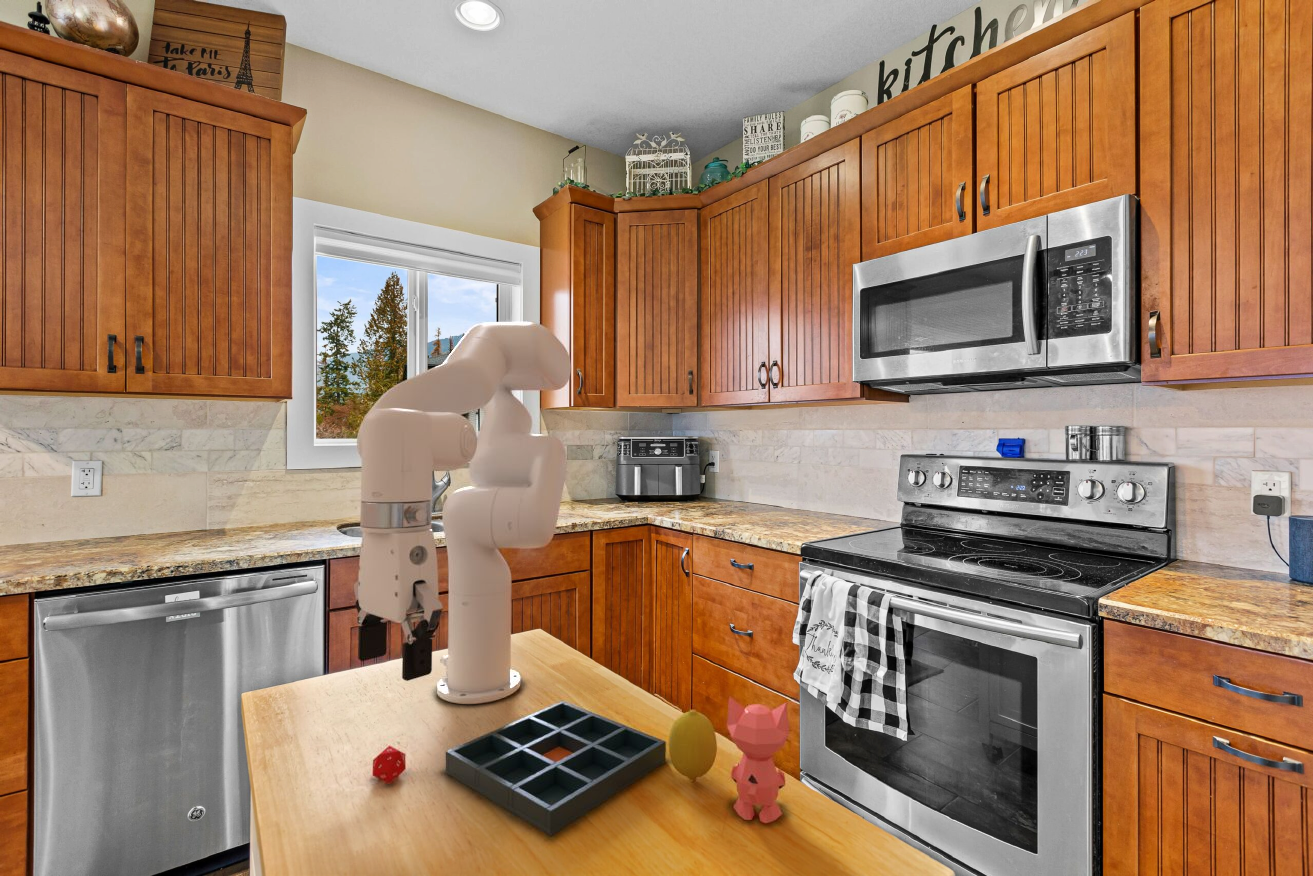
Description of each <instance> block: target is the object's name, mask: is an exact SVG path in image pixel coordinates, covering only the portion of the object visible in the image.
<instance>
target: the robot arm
mask: <svg viewBox="0 0 1313 876" xmlns="http://www.w3.org/2000/svg"><path fill="white" fill-rule="evenodd" d="M571 370H572V364H571V358H570V355H569V352H568V351H567V348H566V347H565V345H564V344H563V343H562V342H561V341H560V339H559V338H558V337H557V335H555V334H554V333H553V332H552V331H551V330H550V329H549V328H547V327H546V326H544V325H542V324H540V323H538V322H534V321H489V322H487V321H486V322H482V323H478V324H475V325H474V326H472V327H470V328H469V329H468V330H467V331H466V333H465V334H464V335H463V337H462V338H461V339H460V340H459V342H458V343H457V344H456V346H455V347H454V348H453V350H452V351H451V353H450V354H449V355H448V356H447V358H446V359H445V360H444V362H443V363H442V364H440V365H437V366H435V367H432V368H430V369H427V370H424V371H422V372H420V373H419V374H416V375H415V376H412V377H410V378H407V379H405V380H403V381H401V382H399V383H397V384H395V385H394V386H392V387H391V388H389V389H388V390H386V391H385V392H384V393H383V394H382V395H381V396H380V397H379V398H378V399H377V400H376V402H375V403H374V404H373V405H372V406H371V408H370V409H369V410H368V411H367V413H365V415H364V417H363V419H362V421H361V424H360V426H359V429H358V431H357V436H356V438H357V439H356V447H357V451H358V455H359V457H360V458H361V470H360V471H361V472H360V473H361V474H360V515H359V516H360V523H359V525H360V526H359V528H360V529H359V531H360V532H362V536H361V544H360V552H359V562H358V578H357V581H355V582H354V583H353V591H354V596H355V604H354V607H355V608H356V611H357V614H358V615H357V617H356V623H357V625H358V638H357V639H358V641H357V642H358V643H357V644H358V645H357V659H358V660H359V661H360V662H365V661H370V660H372V659H373V660H374V659H377V658H380V657H385V656H386V654H387V649H388V648H387V644H388V643H387V642H388V639H387V638H388V621H390V622H394V623H399V624H400V627H401V629H402V631H403V633H404V636H405V640H406V641H405V642H402V664H401V665H402V668H401V669H402V670H401V678H402V680H403V681H405V682H408V681H412V680H415V679H418V678H421V677H425V676H428V675H430V674H432V670H433V639H435V637H436V631H437V629H438V628H439V626H440V619H441V615H442V613H443V610H444V609H443V608H444V606H443V602H441V601H440V598H439V568H438V555H437V547H436V541H435V540H436V539H435V536H434V530H433V529H432V505H433V501H432V500H433V472H451V471H457V470H459V469H462V468H464V467H465V466H467V465H468V464H469V468H468V473H469V477H470V480H471V482H472V483H473V484H474V485H476V486H466V487H462V488H459V489H456V490H455V491H453V492H452V493H450V494H449V495H448V497H446V499H445V501H444V503H443V506H442V511H441V512H442V514H441V515H442V516H441V517H442V527H443V533H444V538H445V544H446V552H447V565H448V566H447V567H448V569H447V570H448V601H447V602H448V603H447V604H448V605H447V606H448V610H447V611H448V613H447V614H448V615H447V617H448V619H447V623H448V624H447V631H448V632H447V655H443V656H442V657H441V658H440V659H439V664H440V665H442V666H444V667H445V676H443V677H442V678H441V679H439V681H438V682H437V684H436V694H437V696H438V697H439V698H440V699H442V700H444V701H446V702H448V703H454V704H458V705H459V704H461V705H477V704H484V703H485V704H486V703H490V702H491V703H492V702H494V701H498V700H502V699H504V698H507V697H509V696H511V695H512V694H514V693H516V692H517V690H519V688H520V687H521V679H522V678H521V675H520V674H519V672H517V671H516V670H513V669H512V573H511V570H510V567H509V565H508V563H507V560H506V559H505V558H504V556H503V555H502V554H501V552H500V551H499V549H526V550H527V549H529V550H531V549H541V548H545V547H546V546H548V545H549V544H550V542H551V541H552V540H553V538H554V535H555V532H556V529H557V525H558V524H557V523H558V518H559V514H560V508H561V502H562V497H563V492H564V488H565V487H564V486H565V482H566V474H567V454H566V448H565V447H564V444H563V442H562V441H561V440H560V439H559V438H557V437H556V436H553V435H551V434H544V433H543V434H538V433H537V434H535V433H531V432H532V427H533V418H532V416H531V414H530V412H529V411H528V409H527V408H526V406H525V405H524V404H523V403H522V401H520V399H518V398H517V397H516V396H515V395H514V393H512V391H558V390H561V389H563V388H564V387H565V386H566V385H567V384H568V382H569V380H570V377H571V373H572V371H571ZM479 409H482V412H483V417H482V421H481V425H480V427H479V430H478V434H477V432H476V429H475V427H474V426H473V424H472V422H471V421H470V420H469V419H468V418H467V417H466V416H463V415H466V414H467V413H468V414H469V413H471V412H474V411H476V410H479ZM386 620H387V621H386ZM415 622H418V623H417V624H416V627H414V625H413V623H415Z"/></svg>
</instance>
